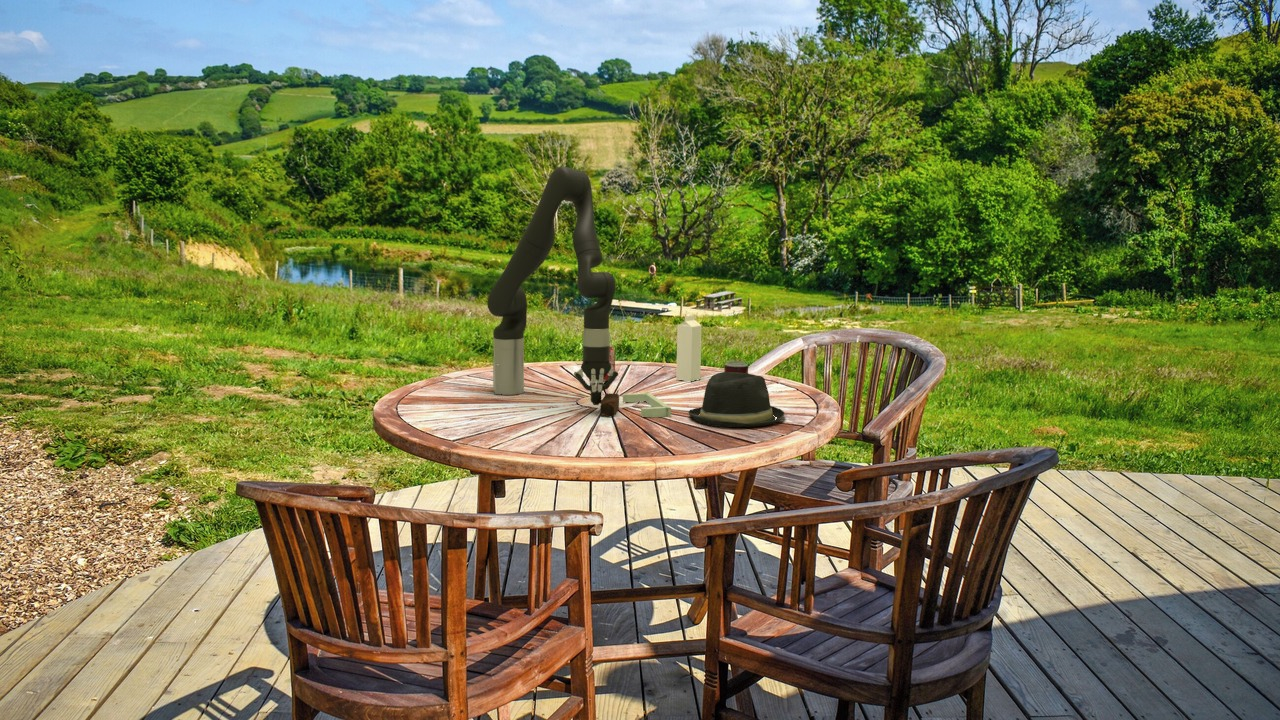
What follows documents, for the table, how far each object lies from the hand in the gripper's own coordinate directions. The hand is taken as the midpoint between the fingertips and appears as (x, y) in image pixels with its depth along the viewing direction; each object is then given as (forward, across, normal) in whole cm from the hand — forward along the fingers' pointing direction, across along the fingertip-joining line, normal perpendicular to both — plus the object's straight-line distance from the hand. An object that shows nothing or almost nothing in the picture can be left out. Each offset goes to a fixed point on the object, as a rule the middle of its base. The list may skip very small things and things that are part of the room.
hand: (595, 404), depth 242 cm
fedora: (+3, -36, +16) cm, 40 cm away
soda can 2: (+2, -44, -4) cm, 44 cm away
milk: (+2, -41, -41) cm, 58 cm away
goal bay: (+2, -15, 0) cm, 15 cm away
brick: (+2, -4, +2) cm, 5 cm away
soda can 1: (+2, -13, -46) cm, 48 cm away
